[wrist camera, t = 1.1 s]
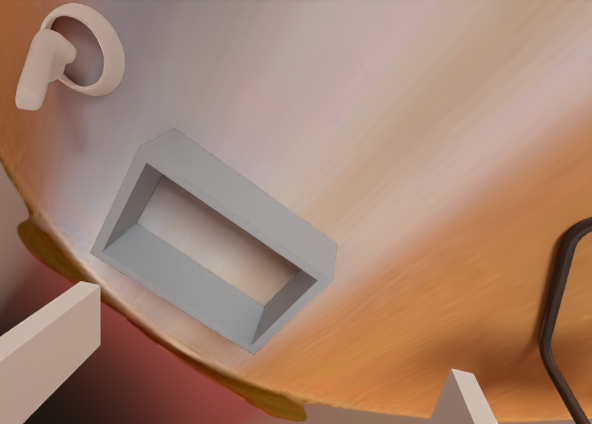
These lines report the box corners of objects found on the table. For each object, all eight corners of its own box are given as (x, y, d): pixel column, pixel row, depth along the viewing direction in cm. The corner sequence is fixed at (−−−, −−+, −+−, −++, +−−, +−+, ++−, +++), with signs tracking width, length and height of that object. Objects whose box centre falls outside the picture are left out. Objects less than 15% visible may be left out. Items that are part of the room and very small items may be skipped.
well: (174, 128, 33) (140, 146, 28) (337, 244, 36) (333, 280, 31) (125, 223, 40) (89, 253, 35) (266, 315, 43) (253, 355, 38)
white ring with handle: (113, 163, 30) (12, 146, 27) (118, 81, 37) (37, 58, 33) (129, 95, 25) (7, 63, 22) (131, 15, 32) (38, -21, 28)
